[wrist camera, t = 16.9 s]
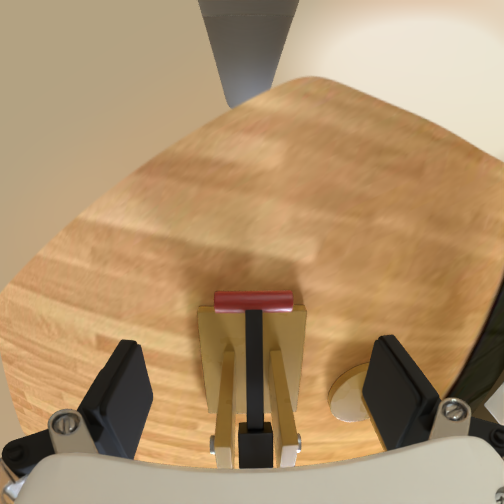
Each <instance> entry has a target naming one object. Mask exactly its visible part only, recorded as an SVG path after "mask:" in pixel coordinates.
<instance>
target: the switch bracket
mask: <svg viewBox="0 0 504 504" xmlns="http://www.w3.org/2000/svg"><path fill="white" fill-rule="evenodd" d="M197 317H198V328H199V338H200V348H201V357H202V366H203V375H204V383H205V391H206V398H207V406H208V412H209V413H217V418H216V429H215V435H211V437H210V453H211V454H215V456H216V462H217V468H218V469H234V458H235V420H236V414H247V407H246V343H245V313H215V310H214V306H199V308H198V311H197ZM306 318H307V310H306V308H305V305H293V310H292V312H282V313H263V379H264V413H271V416H272V425H273V435H274V444H275V454H276V464H277V468H283V467H295V462H296V457H297V452H300V451H301V436H300V434H299V433H298V434H297V431H296V426H295V420H294V415H293V412H296V410H297V403H298V395H299V387H300V378H301V369H302V360H303V350H304V340H305V329H306Z"/></svg>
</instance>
